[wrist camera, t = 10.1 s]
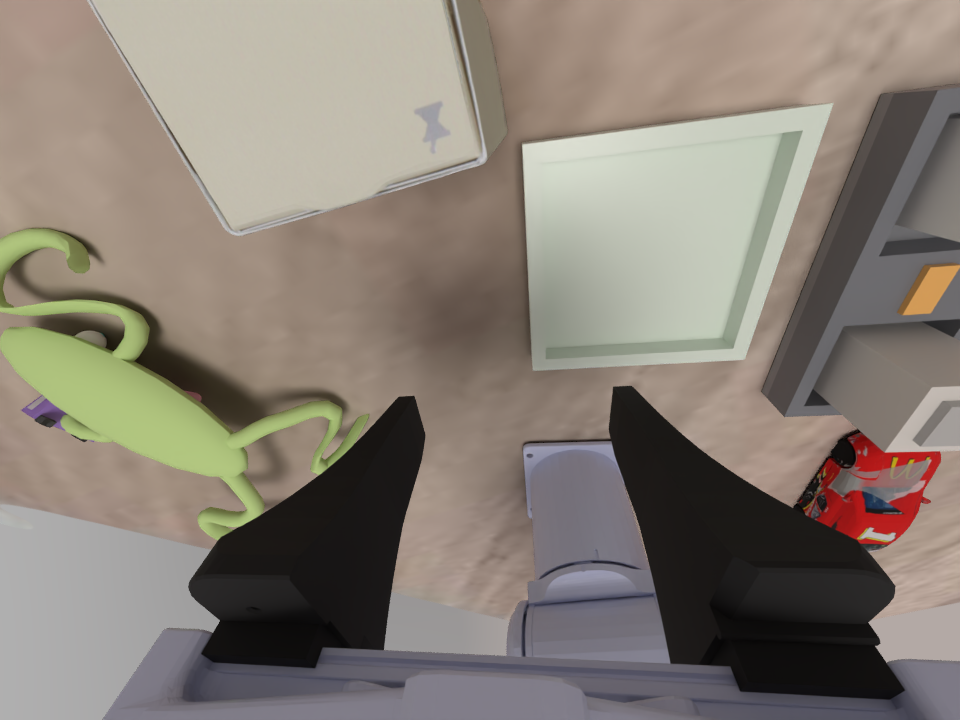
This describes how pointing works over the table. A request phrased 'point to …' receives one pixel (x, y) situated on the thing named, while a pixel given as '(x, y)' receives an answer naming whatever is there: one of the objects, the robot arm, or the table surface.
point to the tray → (661, 235)
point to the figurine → (137, 392)
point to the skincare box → (312, 96)
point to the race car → (869, 491)
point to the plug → (937, 188)
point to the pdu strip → (873, 252)
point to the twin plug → (896, 385)
